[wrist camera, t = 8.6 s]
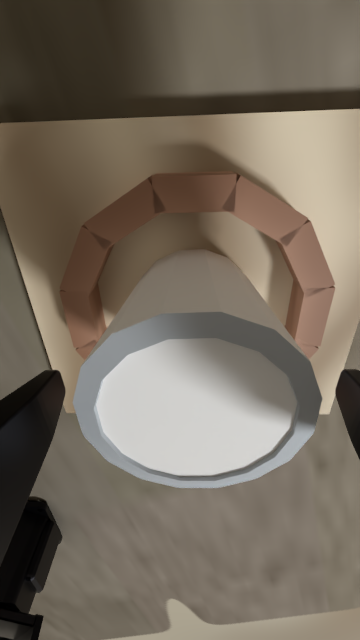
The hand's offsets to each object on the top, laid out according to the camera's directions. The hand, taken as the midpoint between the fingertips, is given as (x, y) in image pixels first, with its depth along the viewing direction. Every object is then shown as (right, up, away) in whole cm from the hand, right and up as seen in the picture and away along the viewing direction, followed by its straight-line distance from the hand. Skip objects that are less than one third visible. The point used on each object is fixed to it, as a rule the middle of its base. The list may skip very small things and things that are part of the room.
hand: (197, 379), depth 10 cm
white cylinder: (0, +3, +5) cm, 6 cm away
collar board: (0, +3, +6) cm, 6 cm away
